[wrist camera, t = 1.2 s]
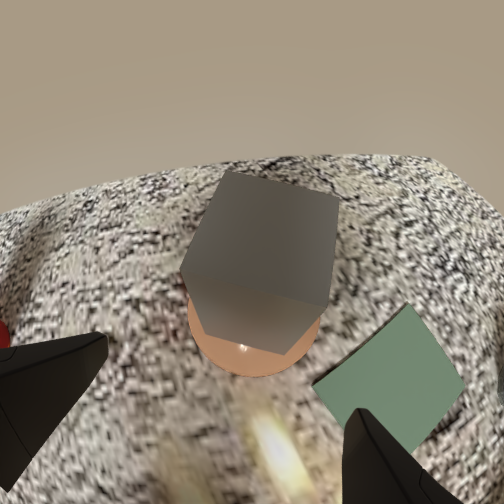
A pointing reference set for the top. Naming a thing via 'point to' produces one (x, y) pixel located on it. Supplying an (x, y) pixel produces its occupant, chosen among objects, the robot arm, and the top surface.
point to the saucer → (247, 351)
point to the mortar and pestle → (501, 387)
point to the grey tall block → (262, 261)
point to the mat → (395, 381)
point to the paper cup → (4, 336)
